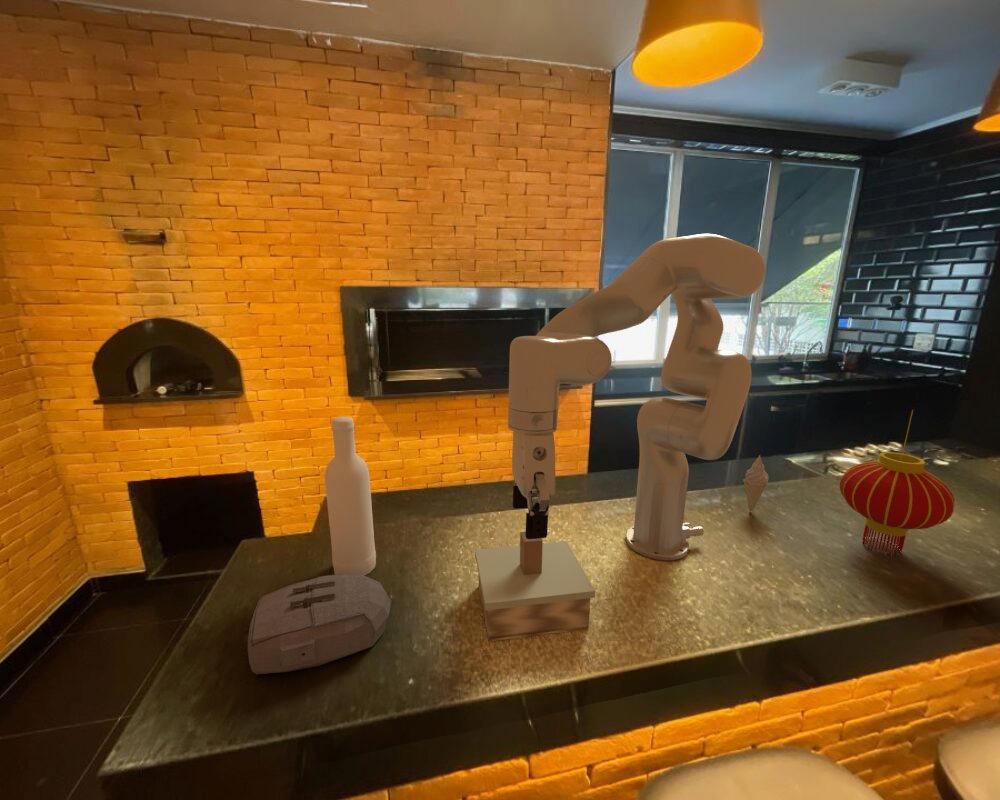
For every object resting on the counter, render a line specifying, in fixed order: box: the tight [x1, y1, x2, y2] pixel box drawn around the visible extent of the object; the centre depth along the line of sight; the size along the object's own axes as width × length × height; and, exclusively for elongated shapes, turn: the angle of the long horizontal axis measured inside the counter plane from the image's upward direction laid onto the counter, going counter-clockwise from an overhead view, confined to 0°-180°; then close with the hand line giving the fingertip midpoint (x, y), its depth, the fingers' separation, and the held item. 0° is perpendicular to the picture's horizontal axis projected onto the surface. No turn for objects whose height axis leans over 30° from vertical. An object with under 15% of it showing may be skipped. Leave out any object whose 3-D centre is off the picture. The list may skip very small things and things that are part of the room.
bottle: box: [324, 416, 377, 576], centre depth 79 cm, size 8×8×30 cm
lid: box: [474, 531, 596, 610], centre depth 70 cm, size 17×14×8 cm
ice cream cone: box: [742, 454, 769, 512], centre depth 102 cm, size 5×5×15 cm
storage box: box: [477, 574, 591, 643], centre depth 71 cm, size 16×13×6 cm
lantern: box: [839, 409, 955, 554], centre depth 86 cm, size 17×17×30 cm
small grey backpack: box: [247, 574, 392, 675], centre depth 65 cm, size 15×8×20 cm
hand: (528, 521), depth 68 cm, fingers open, 9 cm apart
